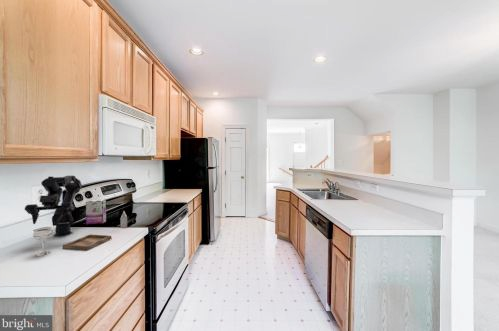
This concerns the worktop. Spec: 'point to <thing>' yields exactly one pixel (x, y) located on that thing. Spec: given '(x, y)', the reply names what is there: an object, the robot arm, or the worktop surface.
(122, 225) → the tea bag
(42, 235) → the wineglass
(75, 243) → the tray
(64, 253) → the worktop surface
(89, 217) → the candy bar box
